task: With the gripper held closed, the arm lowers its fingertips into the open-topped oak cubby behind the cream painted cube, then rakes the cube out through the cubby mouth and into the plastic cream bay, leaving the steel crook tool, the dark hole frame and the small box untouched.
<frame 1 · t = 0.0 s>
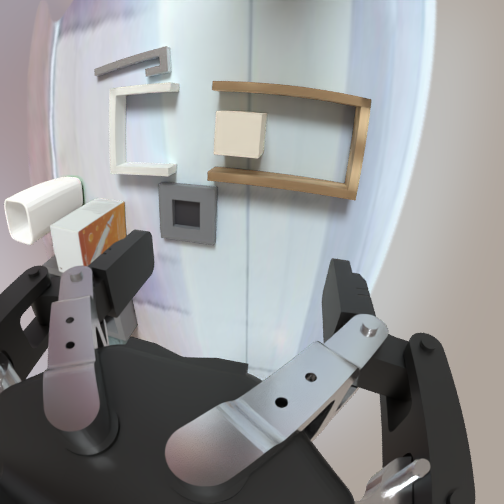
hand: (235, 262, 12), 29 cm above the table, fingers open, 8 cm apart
grey rectangular planter box: (95, 288, 56), on the table
oak cubby: (282, 134, 37), on the table
cream cube: (245, 131, 37), on the table
cream bay: (147, 128, 39), on the table
small box: (112, 219, 47), on the table
hole frame: (188, 212, 44), on the table
cup: (74, 190, 46), on the table
crook tool: (128, 62, 34), on the table
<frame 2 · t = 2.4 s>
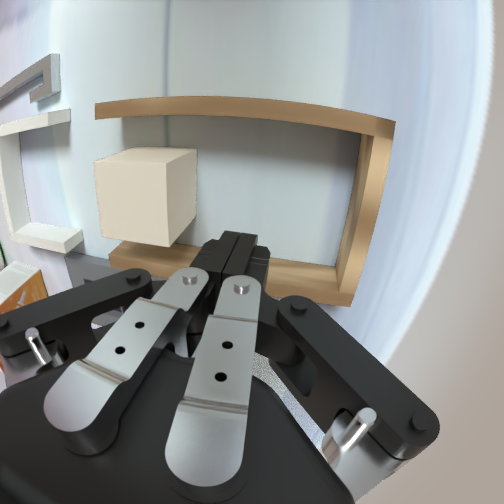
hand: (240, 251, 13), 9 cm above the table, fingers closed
oak cubby: (224, 186, 21), on the table
cream cube: (164, 180, 22), on the table
cream bay: (43, 177, 23), on the table
small box: (35, 286, 32), on the table
hole frame: (108, 292, 29), on the table
crook tool: (18, 83, 19), on the table
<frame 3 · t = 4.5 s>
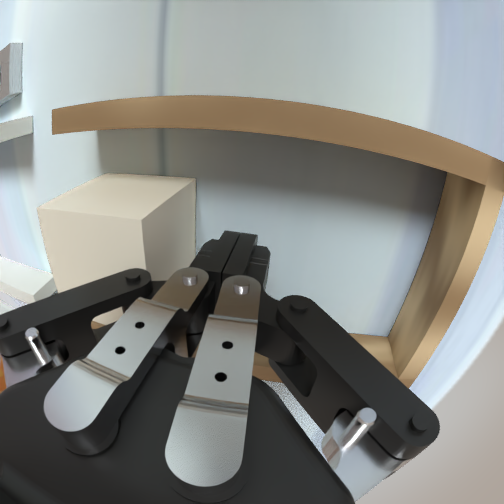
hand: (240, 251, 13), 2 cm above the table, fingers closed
oak cubby: (249, 236, 15), on the table
cream cube: (149, 223, 15), on the table, touching gripper
cream bay: (7, 205, 17), on the table
small box: (14, 324, 25), on the table
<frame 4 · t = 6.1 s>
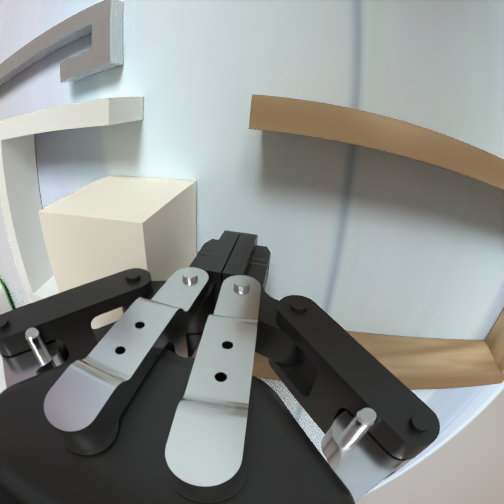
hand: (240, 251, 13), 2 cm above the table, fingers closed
oak cubby: (415, 260, 14), on the table
cream cube: (150, 225, 15), on the table, touching gripper
cream bay: (79, 211, 16), on the table
cup: (0, 290, 23), on the table
crook tool: (37, 53, 11), on the table
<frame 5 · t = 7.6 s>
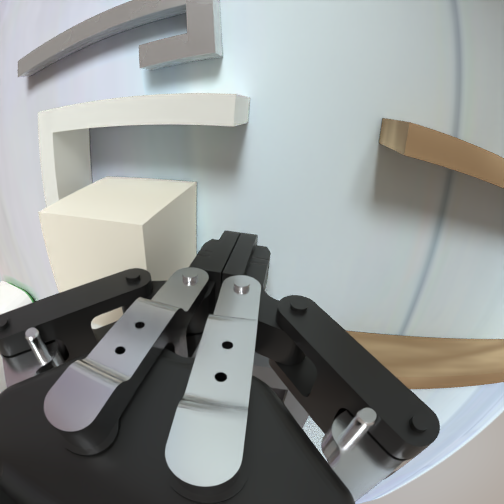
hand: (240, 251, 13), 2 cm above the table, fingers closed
oak cubby: (484, 271, 13), on the table
cream cube: (150, 226, 15), on the table, touching gripper
cream bay: (151, 220, 15), on the table
hole frame: (255, 389, 21), on the table
cup: (26, 303, 22), on the table
crook tool: (94, 33, 10), on the table
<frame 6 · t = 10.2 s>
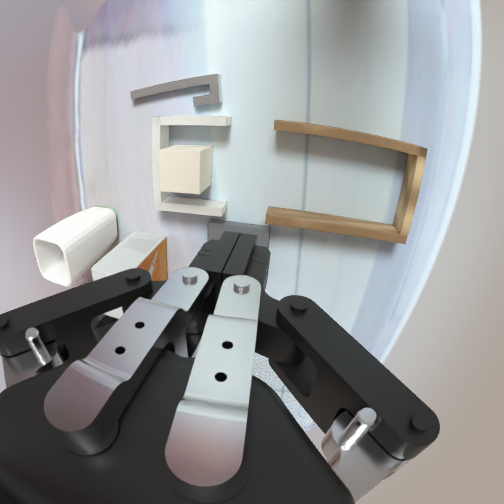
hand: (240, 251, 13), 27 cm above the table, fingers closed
oak cubby: (338, 177, 37), on the table
cream cube: (193, 163, 39), on the table
cream bay: (194, 161, 39), on the table
small box: (151, 253, 48), on the table
hole frame: (238, 250, 44), on the table
cup: (106, 221, 46), on the table
crook tool: (170, 87, 34), on the table
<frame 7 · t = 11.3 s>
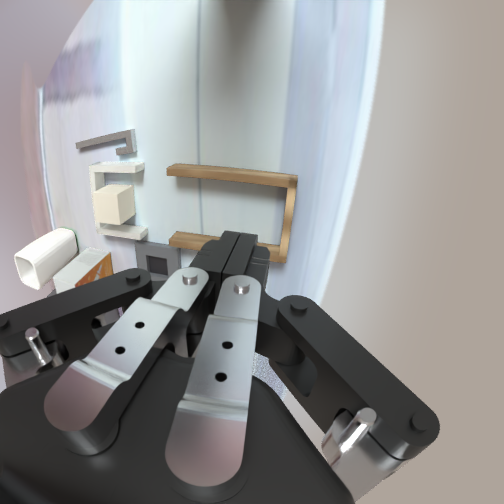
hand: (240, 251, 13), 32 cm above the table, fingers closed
oak cubby: (226, 207, 47), on the table
cream cube: (122, 198, 49), on the table
cream bay: (122, 197, 49), on the table
small box: (102, 264, 58), on the table
hole frame: (159, 263, 55), on the table
cup: (69, 238, 56), on the table
crook tool: (102, 139, 44), on the table
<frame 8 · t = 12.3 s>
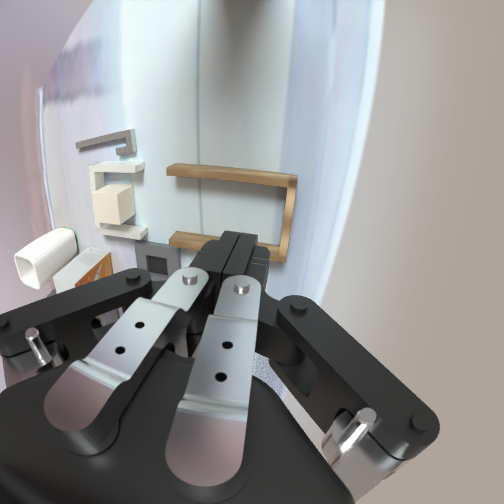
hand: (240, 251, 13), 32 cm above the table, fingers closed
oak cubby: (226, 207, 47), on the table
cream cube: (122, 198, 49), on the table
cream bay: (122, 197, 49), on the table
small box: (102, 263, 58), on the table
hole frame: (159, 263, 55), on the table
cup: (69, 238, 56), on the table
crook tool: (102, 139, 44), on the table
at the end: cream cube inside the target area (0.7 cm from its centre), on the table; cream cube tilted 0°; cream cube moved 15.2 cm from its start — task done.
